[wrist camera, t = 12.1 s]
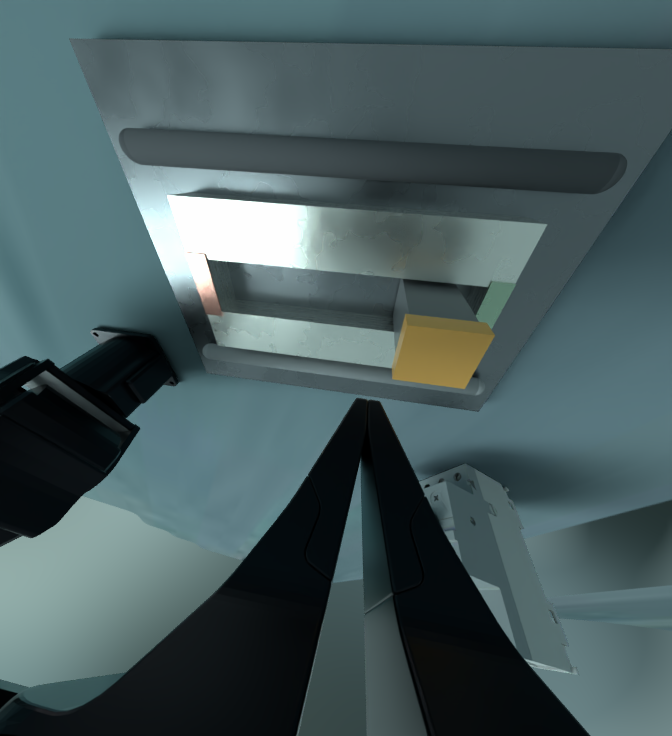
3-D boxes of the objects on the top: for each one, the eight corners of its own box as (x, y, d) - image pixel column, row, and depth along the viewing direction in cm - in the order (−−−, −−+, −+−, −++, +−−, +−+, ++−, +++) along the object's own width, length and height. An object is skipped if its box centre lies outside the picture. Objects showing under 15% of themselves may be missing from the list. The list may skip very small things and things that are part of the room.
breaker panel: (212, 366, 24) (194, 387, 22) (90, 47, 11) (13, 15, 9) (475, 403, 22) (486, 431, 20) (697, 60, 9) (806, 22, 7)
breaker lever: (389, 316, 16) (392, 379, 12) (398, 272, 14) (407, 325, 10) (439, 321, 16) (464, 388, 11) (456, 277, 14) (495, 335, 9)
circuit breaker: (428, 441, 27) (461, 639, 16) (507, 488, 31) (581, 675, 19) (384, 464, 31) (385, 630, 20) (458, 502, 35) (494, 660, 24)
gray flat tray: (211, 352, 22) (202, 361, 21) (128, 128, 12) (104, 124, 11) (477, 387, 20) (482, 400, 19) (620, 154, 10) (647, 152, 9)
